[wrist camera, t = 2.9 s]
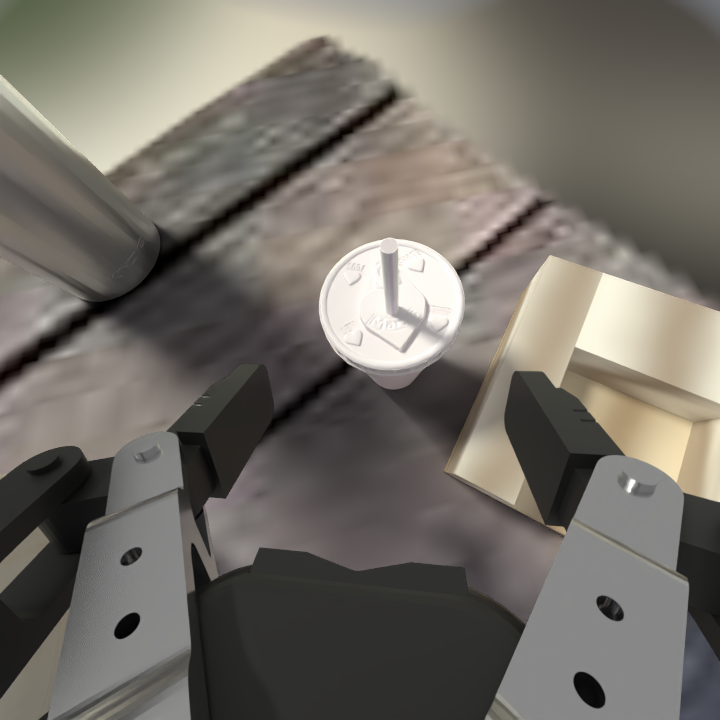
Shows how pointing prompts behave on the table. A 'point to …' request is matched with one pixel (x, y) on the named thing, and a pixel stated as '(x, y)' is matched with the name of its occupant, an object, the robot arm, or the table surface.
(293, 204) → the table surface
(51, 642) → the jug
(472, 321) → the table surface
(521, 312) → the notched board
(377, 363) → the white cup with straw
